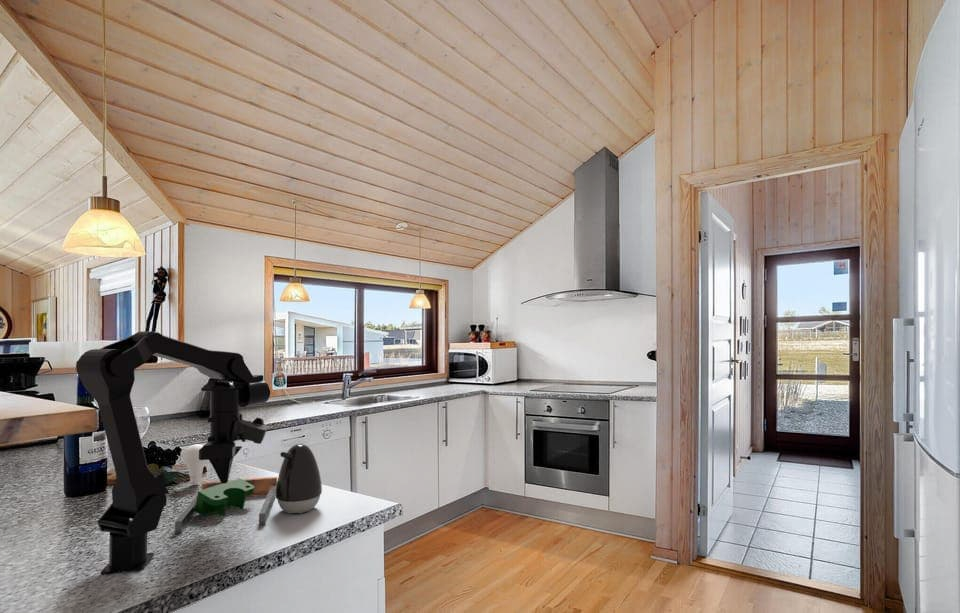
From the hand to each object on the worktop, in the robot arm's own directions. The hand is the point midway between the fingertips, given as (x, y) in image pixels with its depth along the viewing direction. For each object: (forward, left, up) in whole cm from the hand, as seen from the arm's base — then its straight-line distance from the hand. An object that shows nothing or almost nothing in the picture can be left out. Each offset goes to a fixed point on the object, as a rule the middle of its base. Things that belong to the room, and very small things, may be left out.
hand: (224, 483), depth 115 cm
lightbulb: (+35, +14, -9) cm, 38 cm away
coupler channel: (+10, 0, -9) cm, 13 cm away
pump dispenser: (+6, -15, -9) cm, 18 cm away
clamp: (+10, +2, -9) cm, 14 cm away
